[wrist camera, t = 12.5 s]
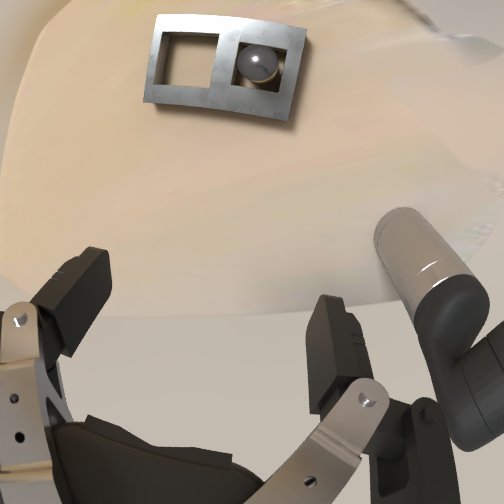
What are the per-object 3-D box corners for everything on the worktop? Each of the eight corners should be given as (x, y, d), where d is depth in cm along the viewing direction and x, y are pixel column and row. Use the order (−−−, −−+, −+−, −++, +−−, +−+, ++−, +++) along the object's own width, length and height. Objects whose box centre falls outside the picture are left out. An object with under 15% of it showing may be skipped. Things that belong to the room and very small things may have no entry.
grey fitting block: (304, 34, 28) (307, 29, 26) (286, 119, 34) (287, 121, 32) (166, 19, 28) (157, 14, 25) (152, 101, 34) (143, 102, 31)
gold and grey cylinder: (280, 57, 30) (281, 48, 23) (274, 86, 32) (273, 84, 25) (248, 52, 30) (241, 41, 23) (242, 80, 32) (233, 77, 25)
